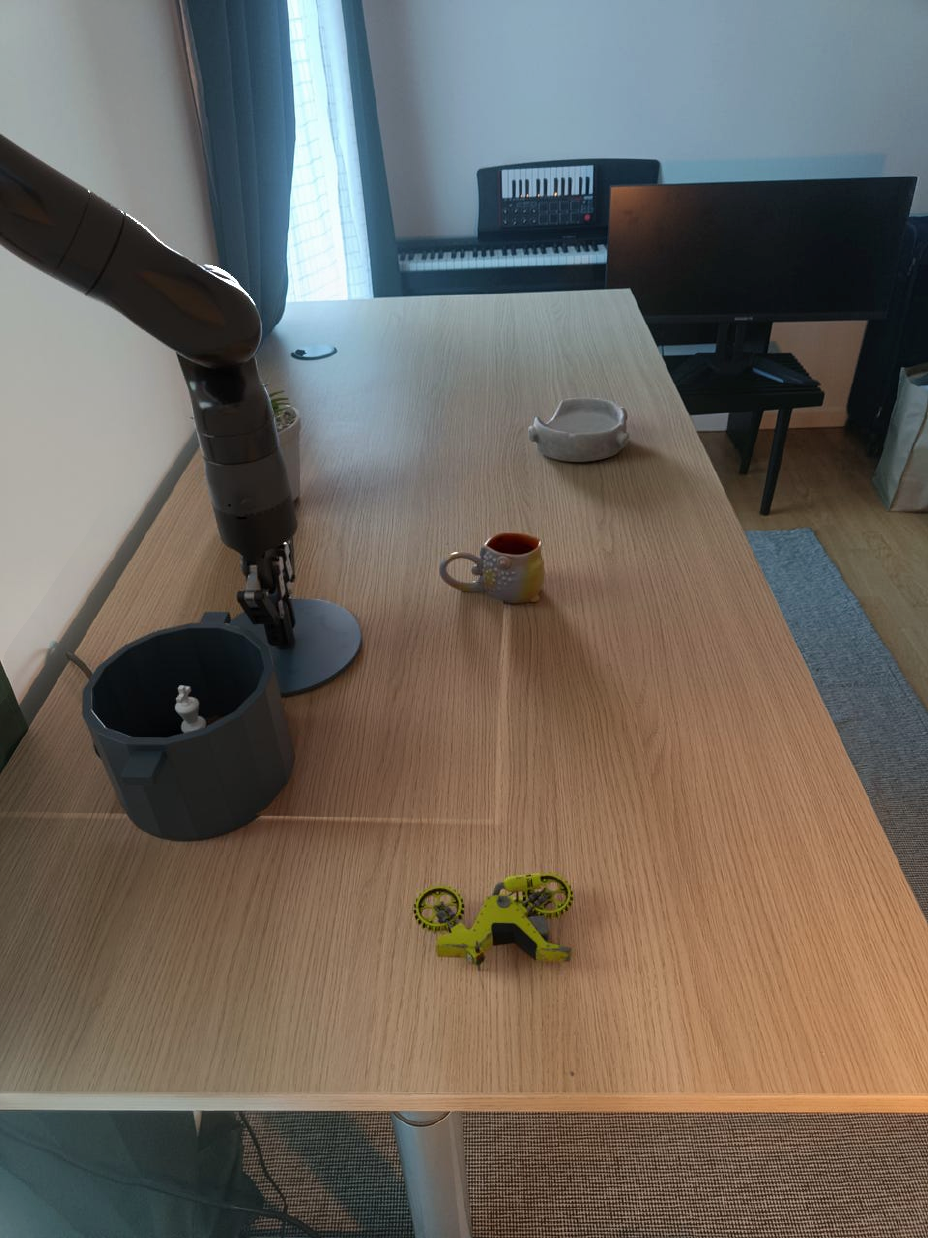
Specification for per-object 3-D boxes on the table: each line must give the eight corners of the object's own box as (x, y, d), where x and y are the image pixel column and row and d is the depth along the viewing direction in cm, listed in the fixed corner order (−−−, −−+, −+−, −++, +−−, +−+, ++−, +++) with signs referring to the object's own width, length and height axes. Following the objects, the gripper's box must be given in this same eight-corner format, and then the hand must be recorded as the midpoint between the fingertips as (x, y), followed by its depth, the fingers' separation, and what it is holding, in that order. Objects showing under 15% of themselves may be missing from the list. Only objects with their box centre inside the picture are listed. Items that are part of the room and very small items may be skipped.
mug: (542, 572, 104) (542, 524, 100) (546, 606, 98) (547, 556, 94) (442, 577, 104) (438, 529, 100) (440, 610, 99) (436, 561, 95)
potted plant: (205, 493, 124) (170, 356, 113) (297, 469, 129) (272, 335, 117) (228, 532, 115) (192, 387, 103) (326, 504, 120) (302, 362, 108)
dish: (523, 461, 127) (522, 429, 124) (547, 422, 138) (547, 392, 135) (621, 471, 123) (623, 439, 120) (638, 430, 134) (640, 399, 131)
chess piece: (170, 785, 78) (140, 702, 72) (196, 747, 82) (169, 665, 76) (220, 793, 77) (193, 710, 71) (244, 754, 81) (220, 672, 75)
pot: (81, 865, 72) (32, 769, 65) (166, 696, 89) (135, 605, 82) (264, 869, 71) (234, 771, 64) (315, 697, 88) (296, 604, 81)
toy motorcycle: (568, 856, 66) (587, 939, 60) (567, 886, 68) (585, 969, 63) (410, 874, 65) (415, 960, 60) (414, 904, 68) (419, 989, 62)
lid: (187, 702, 88) (172, 656, 85) (232, 606, 101) (221, 563, 98) (348, 702, 87) (340, 657, 83) (373, 605, 100) (367, 562, 97)
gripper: (232, 459, 88) (264, 598, 99) (189, 529, 77) (230, 677, 88) (304, 457, 88) (329, 597, 98) (271, 528, 77) (303, 678, 87)
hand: (282, 634), depth 93 cm, fingers closed on lid, 2 cm apart
